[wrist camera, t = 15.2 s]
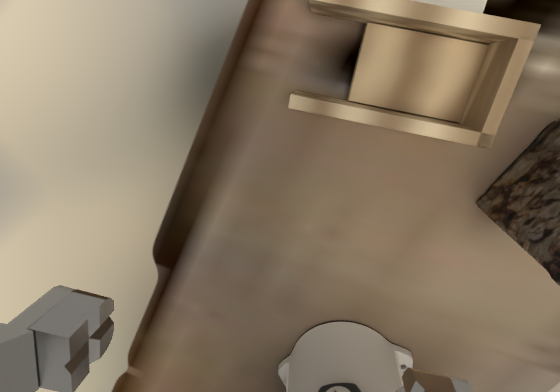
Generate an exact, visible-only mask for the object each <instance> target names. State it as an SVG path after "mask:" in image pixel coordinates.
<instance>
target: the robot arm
mask: <svg viewBox="0 0 560 392" xmlns="http://www.w3.org/2000/svg"><path fill="white" fill-rule="evenodd" d="M113 311H114V301H113V300H112V299H111V298H108V297H104V296H100V295H97V294H93V293H89V292H85V291H81V290H75V289H72V288H68V287H64V286H56V287H53V288H52V289H51V290H50V291H48V292H47V293H46V294H45V295H43V296H42V297H41V298H39V299H38V300H37V301H36V302H34V303H33V304H32V305H31V306H29V307H28V308H27V309H26V310H24V311H23V312H22V313H21V314H19V315H18V316H17V317H16V318H14V319H13V320H12V321H11V322H9V323H8V324H3V323H0V392H35V391H37V390H38V389H39V387H40V388H44V389H49V390H54V391H59V392H74V391H75V390H76V388H77V387H78V386H79V385H80V384H81V382H82V381H83V380H84V378H85V377H86V376H87V374H88V373H89V364H90V363H92V362H94V361H96V360H98V359H100V358H101V357H102V355H103V354H104V352H105V351H106V350H107V348H108V346H109V344H110V341H111V339H112V336H113V331H114V323H113V321H112V320H111V318H110V317H109V315H110V314H111V313H112V312H113ZM412 366H413V359H412V354H411V352H410V351H408V350H407V349H405V348H402V347H400V346H397V345H394V344H392V343H390V342H389V341H387V340H386V339H385V338H384V337H383V336H381V335H380V334H379V333H377V332H376V331H374V330H372V329H370V328H368V327H366V326H363V325H360V324H356V323H351V322H331V323H326V324H322V325H319V326H317V327H314V328H313V329H311V330H309V331H308V332H306V333H305V334H304V335H303V336H302V337H301V338H300V339H299V340H298V341H297V343H296V345H295V347H294V349H293V351H292V353H291V354H290V356H288V357H287V358H286V359H284V360H283V361H282V362H281V363H280V364H279V366H278V374H279V376H280V378H281V380H282V381H283V383H284V385H285V386H286V392H474V391H473V388H472V386H471V384H470V383H469V382H468V381H467V380H465V379H460V378H455V377H451V376H445V375H441V374H436V373H432V372H427V371H423V370H418V369H414V368H412Z"/></svg>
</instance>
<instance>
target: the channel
mask: <svg viewBox="0 0 560 392" xmlns="http://www.w3.org/2000/svg"><path fill="white" fill-rule="evenodd" d="M309 4H310V10H311V13H314V14H319V15H324V16H329V17H335V18H340V19H345V20H351V21H356V22H361V23H366V25H365V28H364V32H363V36H362V40H361V44H360V48H359V52H358V56H357V61H356V65H355V69H354V73H353V77H352V81H351V85H350V89H349V93H348V97H347V99H348V100H349V101H347V100H342V99H337V98H332V97H327V96H322V95H317V94H312V93H307V92H302V91H297V90H296V91H295V92H293V93H292V94H291V95H290V101H289V106H288V108H291V109H296V110H300V111H305V112H310V113H315V114H320V115H325V116H330V117H335V118H340V119H345V120H350V121H355V122H360V123H365V124H370V125H374V126H379V127H384V128H389V129H394V130H399V131H404V132H409V133H414V134H419V135H424V136H429V137H434V138H439V139H443V140H448V141H453V142H458V143H463V144H468V145H473V146H478V147H483V148H488V149H490V147H491V145H492V142H493V140H494V137H495V135H496V133H497V130H498V128H499V125H500V123H501V121H502V118H503V116H504V113H505V111H506V108H507V106H508V104H509V101H510V99H511V96H512V94H513V91H514V89H515V87H516V84H517V82H518V79H519V77H520V75H521V72H522V70H523V67H524V65H525V62H526V60H527V58H528V55H529V53H530V50H531V48H532V45H533V43H534V41H535V38H536V36H537V33H538V31H539V29H540V26H541V25H540V24H535V23H530V22H524V21H519V20H513V19H508V18H503V17H497V16H492V15H487V14H481V13H476V12H470V11H465V10H460V9H454V8H449V7H443V6H438V5H433V4H427V3H422V2H416V1H411V0H309ZM352 101H354V102H352ZM357 102H359V103H357ZM362 103H364V104H362ZM367 104H369V105H367ZM372 105H374V106H372ZM377 106H379V107H377ZM382 107H384V108H382ZM387 108H389V109H387ZM392 109H394V110H392ZM397 110H399V111H397ZM402 111H404V112H402ZM407 112H409V113H407ZM412 113H414V114H412ZM417 114H419V115H417ZM422 115H424V116H422ZM427 116H429V117H427ZM432 117H434V118H432ZM437 118H439V119H437ZM442 119H444V120H442ZM447 120H449V121H447Z"/></svg>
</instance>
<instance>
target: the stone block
mask: <svg viewBox="0 0 560 392" xmlns="http://www.w3.org/2000/svg"><path fill="white" fill-rule="evenodd" d="M477 205H478V207H479V208H480V209H481V210H482V211H483V212H484V213H485V214H486V215H488V217H489V218H490V219H492V220H493V221H494V223H496V224H497V225H498V226H499V227H500V228H501V229H502V230H503V231H505V232H506V233H507V234H508V235H509V236H510V237H511V238H512V239H513V240H514V241H516V242H517V243H518V244H519V245H520V246H521V247H522V248H523V249H524V250H525V251H527V252H528V253H529V254H530V255H531V256H532V257H533V258H534V259H535V260H536V261H537V262H538V263H539V264H540V265H542V266H543V267H544V268H545V269H546V270H547V271H548V272H549V274H550V276H551V278H552V279H553V280H554V281H555V282H556V283H557V284H558V285H560V121H559V122H554V123H553V124H551V125H550V126H549V127H548V128H547V129H545V130H544V131H543V132H542V134H541V135H540V136H539V137H538V138H537V139H536V141H535V142H534V143H533V144H532V145H531V146H530V147H529V148H528V149H527V150H526V151H525V152H524V153H523V154H522V155H521V156H520V157H519V158H518V159H517V160H516V161H515V163H514V164H513V165H512V166H511V167H510V168H509V169H508V170H507V171H506V172H505V173H504V174H503V176H501V177H500V178H499V179H498V180H497V181H496V182H495V183H494V185H493V186H492V187H491V188H490V190H489V191H488V192H487V193H486V194H485V195H484V196H483V197H482V198H481V199H480V200H479V201H478V202H477Z"/></svg>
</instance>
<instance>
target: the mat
mask: <svg viewBox="0 0 560 392" xmlns="http://www.w3.org/2000/svg"><path fill="white" fill-rule="evenodd" d="M411 1H416V2H422V3H427V4H433V5H438V6H443V7H449V8H454V9H460V10H465V11H470V12H476V13H481V14H483V11H484V8H485V5H486V2H487V0H411Z"/></svg>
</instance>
